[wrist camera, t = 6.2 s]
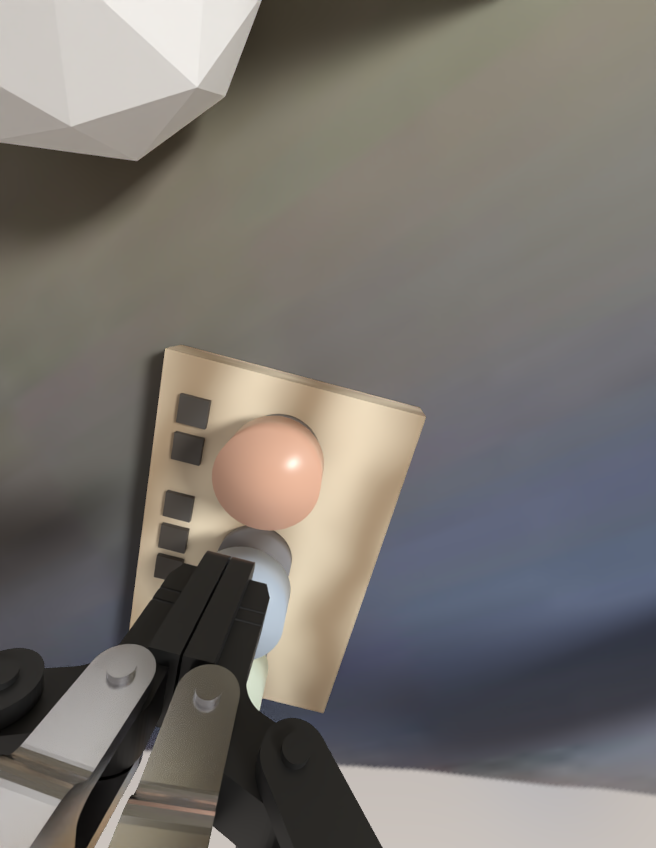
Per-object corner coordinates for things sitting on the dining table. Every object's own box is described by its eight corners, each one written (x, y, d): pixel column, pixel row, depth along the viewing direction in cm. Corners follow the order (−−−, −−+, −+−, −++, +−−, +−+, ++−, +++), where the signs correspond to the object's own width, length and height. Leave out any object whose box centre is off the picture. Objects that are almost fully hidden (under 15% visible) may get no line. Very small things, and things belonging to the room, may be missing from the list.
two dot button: (334, 430, 19) (332, 446, 17) (311, 515, 21) (306, 541, 19) (237, 404, 19) (221, 417, 17) (220, 492, 21) (204, 515, 18)
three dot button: (300, 560, 20) (293, 592, 18) (279, 633, 22) (271, 671, 19) (206, 536, 20) (188, 565, 18) (192, 611, 22) (174, 647, 19)
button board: (419, 407, 22) (429, 421, 20) (325, 686, 29) (322, 725, 26) (181, 344, 22) (157, 349, 19) (140, 640, 28) (118, 675, 26)
